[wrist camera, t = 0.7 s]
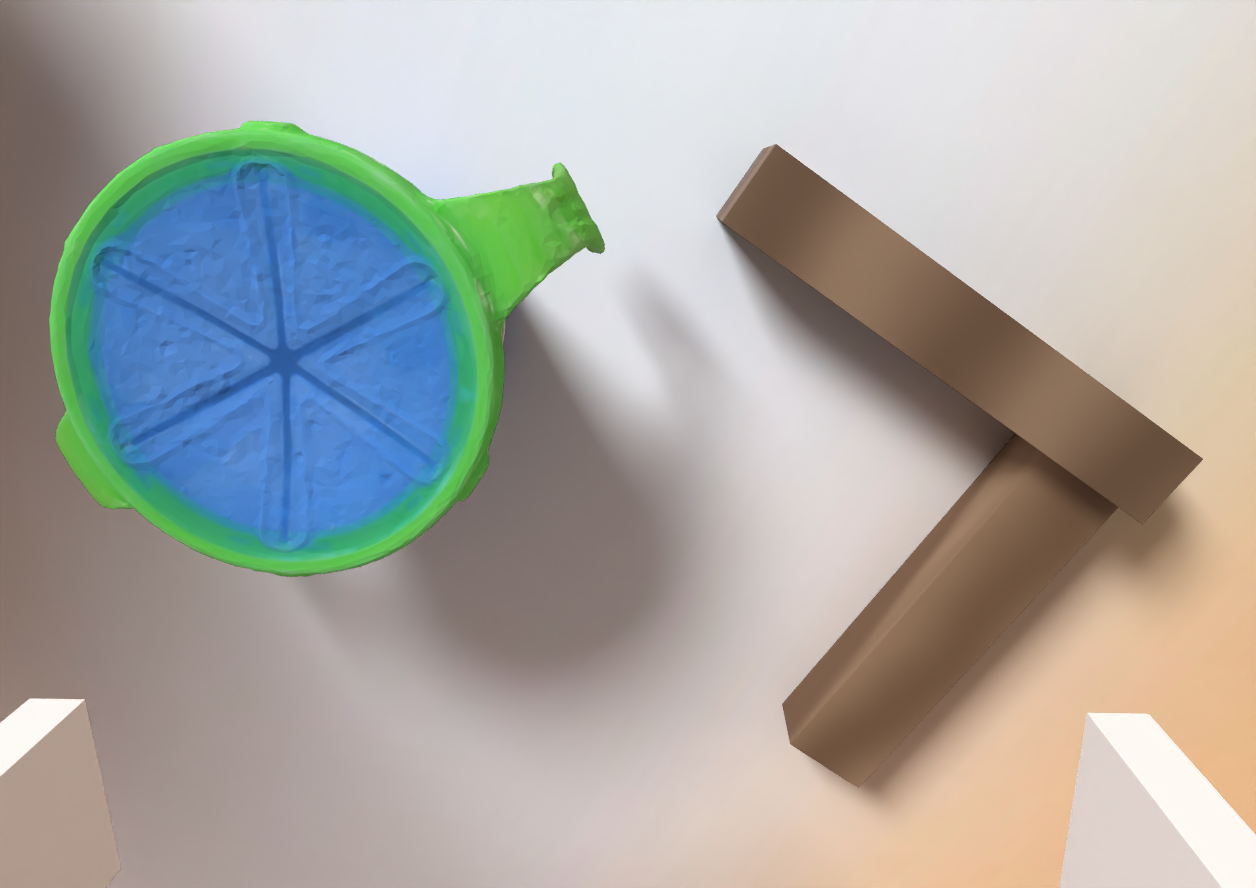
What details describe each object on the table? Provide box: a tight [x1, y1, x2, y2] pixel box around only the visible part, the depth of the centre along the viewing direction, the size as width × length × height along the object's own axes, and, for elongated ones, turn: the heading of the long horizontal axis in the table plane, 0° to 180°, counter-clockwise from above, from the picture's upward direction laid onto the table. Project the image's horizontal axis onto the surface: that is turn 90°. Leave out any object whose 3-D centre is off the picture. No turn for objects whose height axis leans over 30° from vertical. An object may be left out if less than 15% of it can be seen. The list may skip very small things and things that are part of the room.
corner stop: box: [716, 144, 1203, 788], centre depth 29 cm, size 16×16×4 cm
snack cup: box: [49, 121, 605, 577], centre depth 26 cm, size 16×10×10 cm
